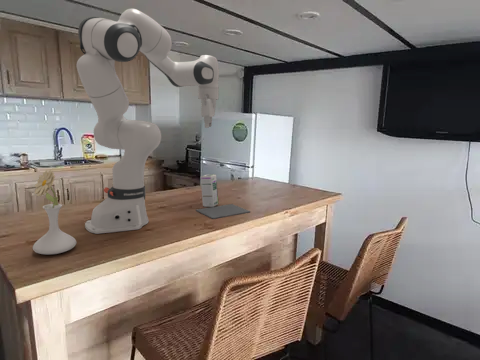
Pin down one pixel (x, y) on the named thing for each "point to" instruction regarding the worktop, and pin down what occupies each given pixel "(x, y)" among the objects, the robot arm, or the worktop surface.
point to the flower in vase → (51, 221)
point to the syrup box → (209, 190)
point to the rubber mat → (222, 211)
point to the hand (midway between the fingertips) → (208, 127)
